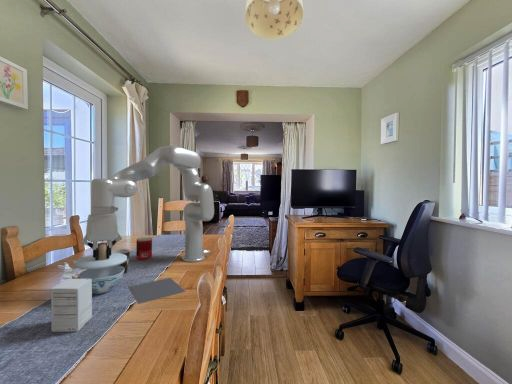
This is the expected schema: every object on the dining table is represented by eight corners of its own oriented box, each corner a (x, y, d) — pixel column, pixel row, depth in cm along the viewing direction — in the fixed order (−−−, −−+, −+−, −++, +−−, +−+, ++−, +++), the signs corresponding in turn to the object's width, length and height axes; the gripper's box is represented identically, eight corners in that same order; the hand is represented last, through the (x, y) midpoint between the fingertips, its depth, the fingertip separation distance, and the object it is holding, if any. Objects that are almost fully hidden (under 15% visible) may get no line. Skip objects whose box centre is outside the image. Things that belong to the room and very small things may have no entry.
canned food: (154, 257, 142) (155, 237, 141) (144, 261, 134) (144, 240, 134) (144, 255, 144) (144, 236, 144) (133, 259, 137) (133, 239, 136)
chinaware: (91, 304, 87) (91, 282, 86) (71, 293, 95) (71, 273, 94) (132, 289, 99) (132, 270, 99) (111, 280, 107) (111, 262, 107)
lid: (122, 253, 108) (122, 237, 108) (131, 263, 95) (131, 245, 95) (73, 259, 98) (74, 241, 98) (76, 272, 84) (76, 252, 84)
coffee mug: (120, 277, 111) (120, 254, 111) (104, 275, 113) (104, 253, 113) (137, 268, 123) (138, 248, 123) (122, 266, 125) (122, 246, 124)
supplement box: (67, 318, 78) (67, 278, 77) (92, 317, 78) (92, 278, 78) (50, 332, 70) (49, 288, 70) (78, 332, 71) (78, 288, 70)
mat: (170, 279, 111) (170, 277, 111) (185, 292, 97) (185, 291, 97) (127, 288, 100) (128, 286, 100) (138, 305, 87) (138, 303, 87)
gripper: (124, 209, 104) (123, 253, 104) (75, 210, 94) (75, 259, 94) (128, 211, 98) (127, 257, 98) (76, 213, 88) (76, 264, 88)
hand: (102, 258), depth 96 cm, fingers closed on lid, 3 cm apart
